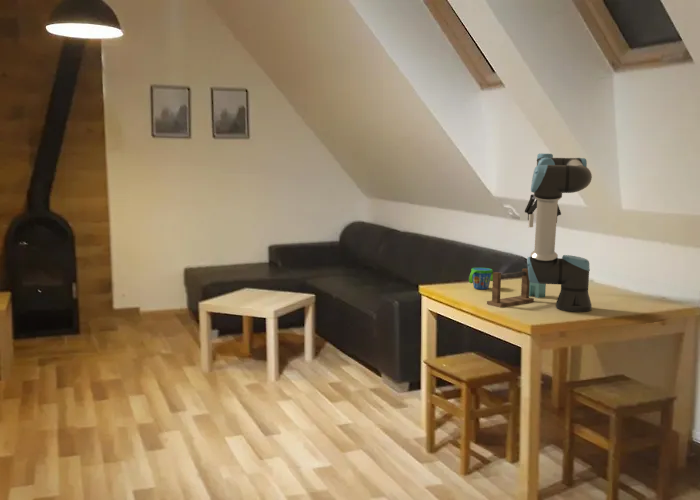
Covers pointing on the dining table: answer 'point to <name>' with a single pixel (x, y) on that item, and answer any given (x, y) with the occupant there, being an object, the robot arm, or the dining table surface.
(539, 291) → the link
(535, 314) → the dining table surface
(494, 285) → the stand
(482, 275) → the snack cup
